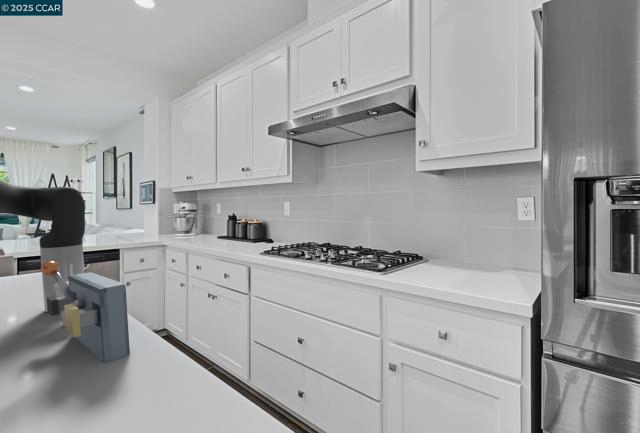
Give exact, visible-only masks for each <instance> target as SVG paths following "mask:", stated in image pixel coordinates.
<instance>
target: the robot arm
mask: <svg viewBox="0 0 640 433" xmlns="http://www.w3.org/2000/svg"><path fill="white" fill-rule="evenodd" d="M85 205H86V204H85V200H84V197H83V195H82V194H81V192H80V191H79V190H78V189H76V188H74V187H73V186H72V187H71V186H56V187H54V186H53V187H32V186H31V187H30V186H22V185H17V184H16V185H15V184H11V183H8V182H6V181H4V180H2V179H0V214H6V215H7V214H9V215H16V216H20V217H26V218H31V219H35V220H40V221H44V222H51V229H50V231H48V232H47V233H46V234H43V235H42V236H40V238H39V250H40V263H41V265H40V266H42V265H43V264H44V263H45V262H48V261H54V262H57V263H58V264H59V267H60V268H59V271H58V272H59V274H60V275H61V277H62V278H63V279H64V281H69V277H68V276H70V265H71V264H72V266H73V275H76V274H82V273H86V272H85V260H84V259H85V258H84V249H83V248H84V246H83V237H84V235H85V233H86V207H85ZM41 276H42V289H43V303H44V312H45V313H48V310H47V297H52V296H53V297H55V298H57V296H56V291H55V290H53V289H54V286H53V285H55V284H56V282H55V281H54V280H53V278H52V277H51V276H48V275H45V274H43V273H42V272H41Z"/></svg>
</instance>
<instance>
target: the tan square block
mask: <svg viewBox="0 0 640 433" xmlns="http://www.w3.org/2000/svg"><path fill="white" fill-rule="evenodd" d="M64 309H65V323H66V326H65V332H66V333H67V334H69V335H70V336H71V337H72V338H74V337H78V336H81V331H80V327H83V326H87V325H91V324H95V323H98V322H99V316H98V309H97V308H95V307H89V308H85V309H81V310H79V308H77V307H76V306H74V305H72V304H68V305H64ZM74 339H75V338H74Z"/></svg>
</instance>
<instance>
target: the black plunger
mask: <svg viewBox="0 0 640 433" xmlns="http://www.w3.org/2000/svg"><path fill="white" fill-rule="evenodd" d="M69 302H70V301H69V300H68V298H67V297H66V296H63V297H58V298H55V297H53V296H52V297H47V310H48V312H47V313H48V314H49V315H50V316H52V317H54V316H55V317H56V316H59V315H60V312H61V311H65V309H64V305H68V304H69Z"/></svg>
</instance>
